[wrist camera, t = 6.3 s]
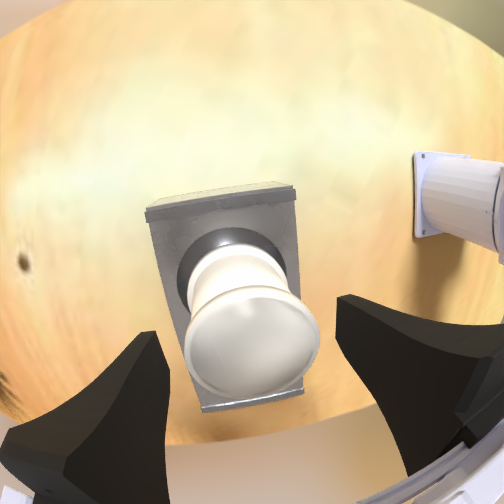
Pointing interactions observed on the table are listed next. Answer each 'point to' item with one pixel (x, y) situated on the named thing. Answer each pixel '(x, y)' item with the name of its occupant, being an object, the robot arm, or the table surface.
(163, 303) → the table surface
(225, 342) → the white cabinet knob
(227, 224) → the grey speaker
